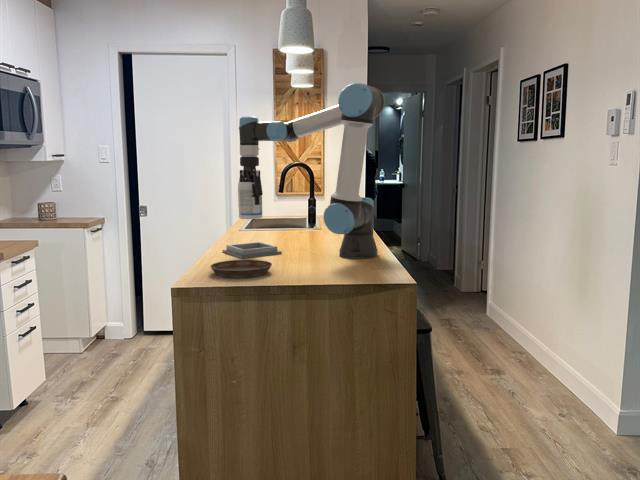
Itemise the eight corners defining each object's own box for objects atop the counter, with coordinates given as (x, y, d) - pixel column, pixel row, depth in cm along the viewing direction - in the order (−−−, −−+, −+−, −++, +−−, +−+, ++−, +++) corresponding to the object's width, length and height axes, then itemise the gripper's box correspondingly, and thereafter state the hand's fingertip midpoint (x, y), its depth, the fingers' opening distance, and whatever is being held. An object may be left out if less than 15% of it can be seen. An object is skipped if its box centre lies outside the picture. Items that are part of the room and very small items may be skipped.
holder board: (281, 253, 228) (281, 246, 228) (241, 258, 218) (241, 250, 218) (261, 248, 243) (260, 241, 243) (222, 252, 233) (222, 245, 233)
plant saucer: (214, 268, 201) (214, 259, 200) (272, 267, 202) (272, 258, 202) (207, 281, 180) (206, 270, 180) (271, 279, 182) (271, 269, 181)
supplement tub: (266, 218, 227) (265, 182, 225) (245, 220, 222) (244, 182, 220) (255, 216, 235) (255, 181, 233) (234, 218, 230) (233, 181, 228)
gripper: (271, 156, 218) (271, 213, 221) (245, 156, 236) (246, 209, 239) (253, 156, 214) (254, 214, 217) (229, 156, 232) (230, 210, 235)
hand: (250, 211), depth 228 cm, fingers closed on supplement tub, 10 cm apart
